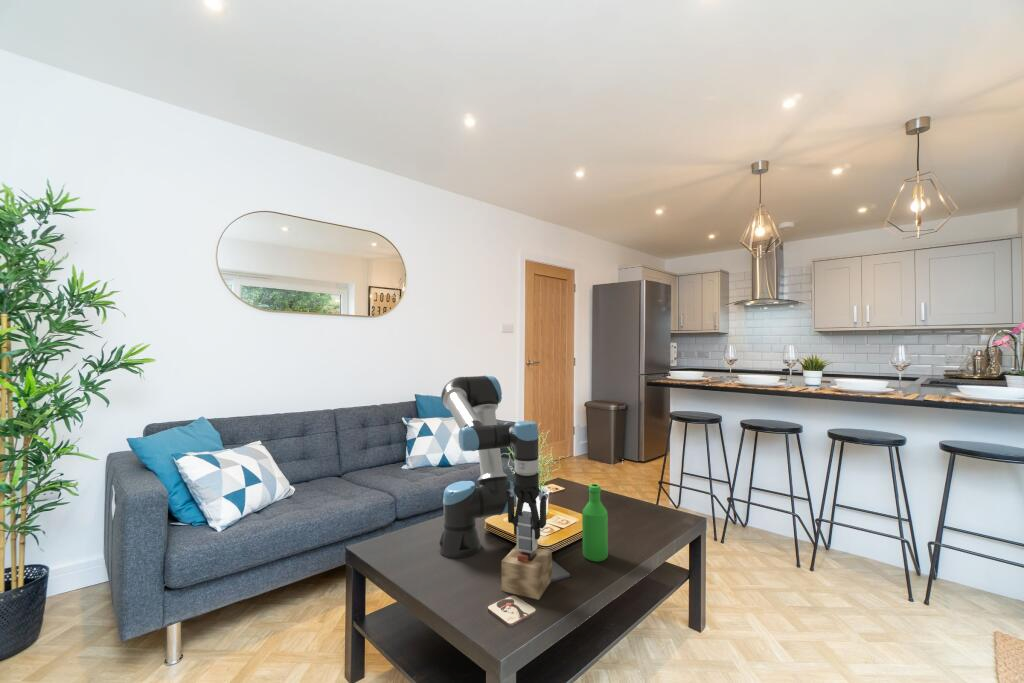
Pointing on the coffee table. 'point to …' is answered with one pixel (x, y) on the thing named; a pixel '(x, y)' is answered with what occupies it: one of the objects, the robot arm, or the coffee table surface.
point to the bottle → (595, 527)
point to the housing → (526, 573)
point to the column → (526, 534)
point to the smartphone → (558, 572)
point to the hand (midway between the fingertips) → (527, 547)
